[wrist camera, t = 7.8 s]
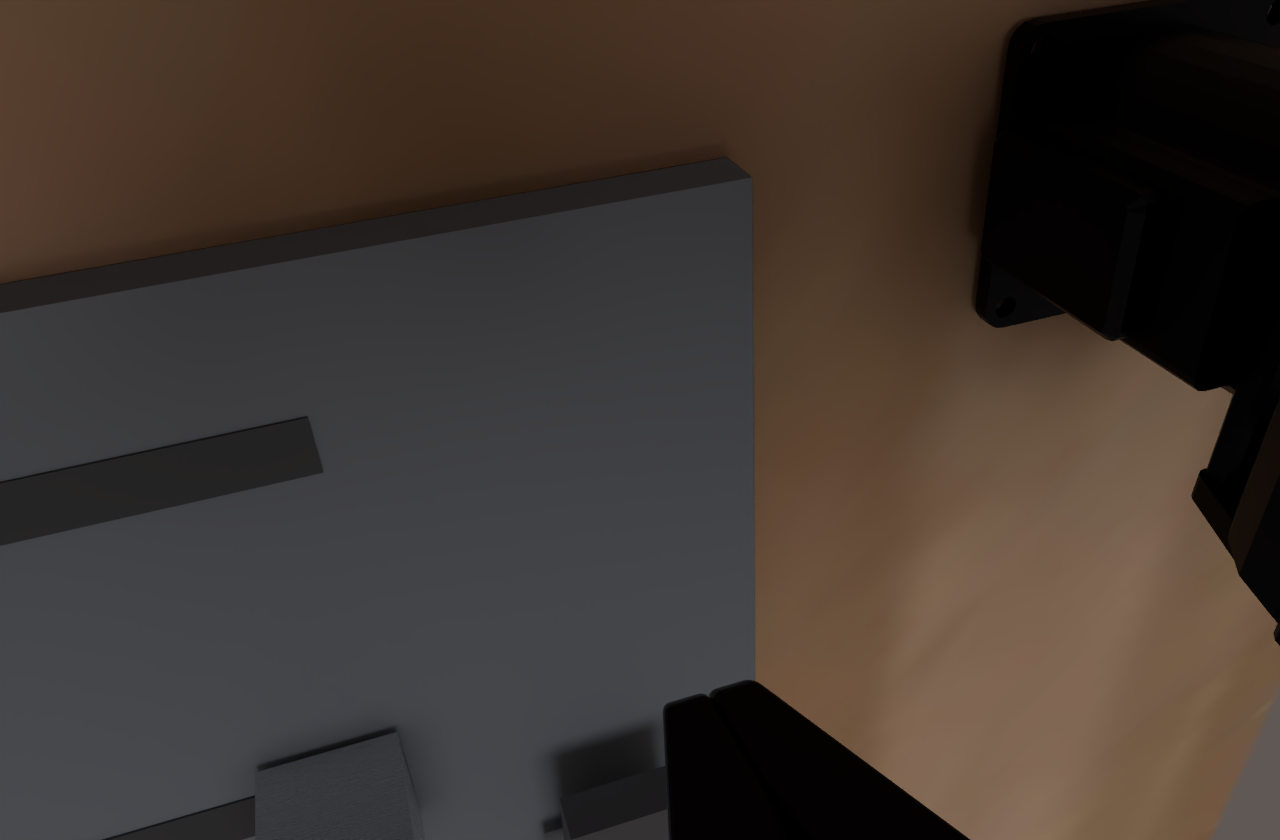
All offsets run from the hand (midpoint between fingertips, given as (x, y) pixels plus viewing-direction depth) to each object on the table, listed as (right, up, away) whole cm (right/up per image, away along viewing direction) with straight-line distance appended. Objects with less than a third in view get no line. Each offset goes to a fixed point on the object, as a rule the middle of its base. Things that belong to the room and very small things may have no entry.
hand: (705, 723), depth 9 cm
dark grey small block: (-1, -7, +17) cm, 19 cm away
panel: (-8, -3, +13) cm, 16 cm away
